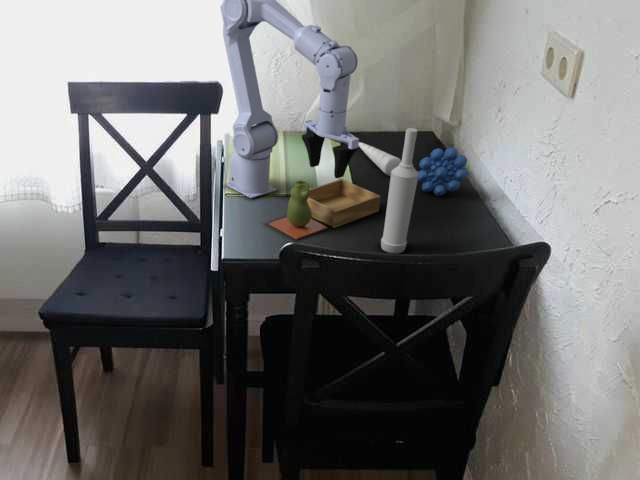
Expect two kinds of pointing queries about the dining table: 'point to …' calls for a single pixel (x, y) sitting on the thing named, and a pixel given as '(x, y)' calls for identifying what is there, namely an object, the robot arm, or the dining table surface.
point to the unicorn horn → (380, 158)
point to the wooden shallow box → (341, 202)
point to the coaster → (298, 228)
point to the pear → (299, 204)
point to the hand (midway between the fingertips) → (326, 171)
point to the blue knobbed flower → (442, 171)
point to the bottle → (400, 198)
